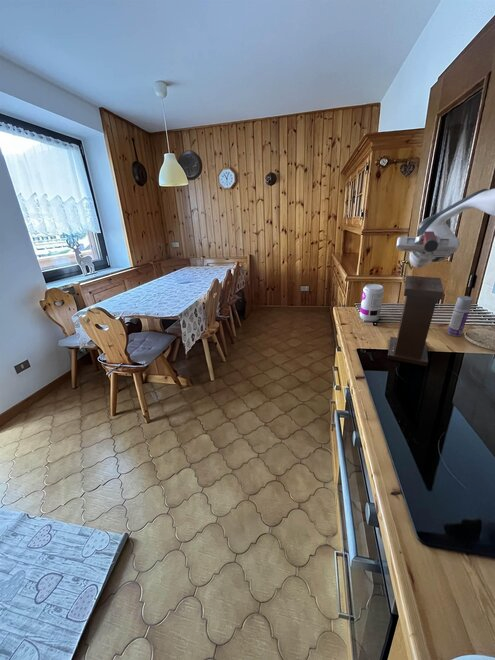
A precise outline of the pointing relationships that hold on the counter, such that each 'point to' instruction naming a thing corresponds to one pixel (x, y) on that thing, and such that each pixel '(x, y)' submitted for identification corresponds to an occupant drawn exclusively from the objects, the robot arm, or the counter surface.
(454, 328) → the container
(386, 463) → the counter surface
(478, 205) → the robot arm
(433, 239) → the maroon rod
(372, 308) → the supplement can
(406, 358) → the shelf stand
